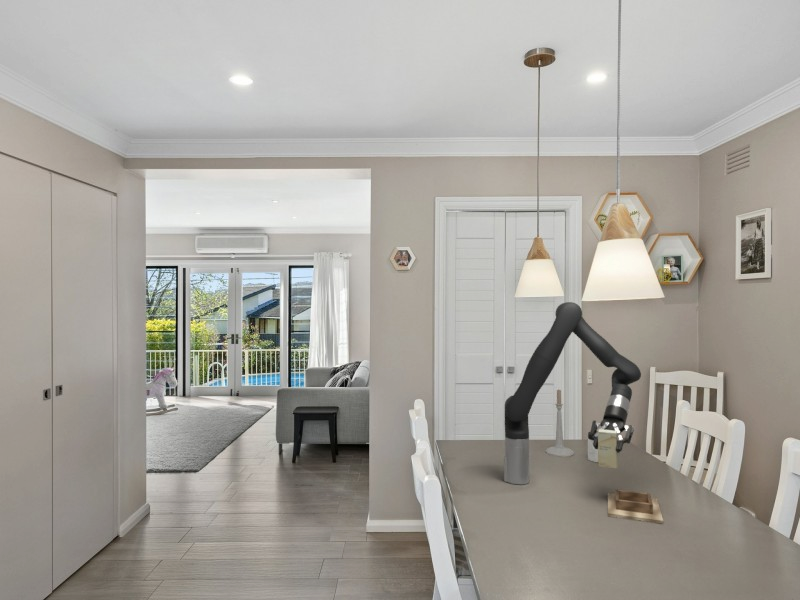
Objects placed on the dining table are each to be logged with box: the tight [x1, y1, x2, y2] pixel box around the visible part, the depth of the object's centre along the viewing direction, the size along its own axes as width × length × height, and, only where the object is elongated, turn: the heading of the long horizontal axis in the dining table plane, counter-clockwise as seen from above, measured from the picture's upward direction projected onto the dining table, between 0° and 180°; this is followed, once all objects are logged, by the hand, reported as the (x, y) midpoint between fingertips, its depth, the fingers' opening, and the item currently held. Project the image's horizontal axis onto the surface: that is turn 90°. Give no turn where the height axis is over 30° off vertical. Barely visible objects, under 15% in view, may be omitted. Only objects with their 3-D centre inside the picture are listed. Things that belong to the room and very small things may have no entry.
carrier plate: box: [607, 489, 664, 524], centre depth 171 cm, size 16×20×4 cm
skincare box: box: [597, 428, 619, 469], centre depth 177 cm, size 6×4×12 cm
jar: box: [587, 430, 598, 463], centre depth 228 cm, size 9×8×12 cm
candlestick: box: [545, 389, 575, 457], centre depth 240 cm, size 13×13×30 cm
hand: (606, 449), depth 176 cm, fingers closed on skincare box, 7 cm apart
